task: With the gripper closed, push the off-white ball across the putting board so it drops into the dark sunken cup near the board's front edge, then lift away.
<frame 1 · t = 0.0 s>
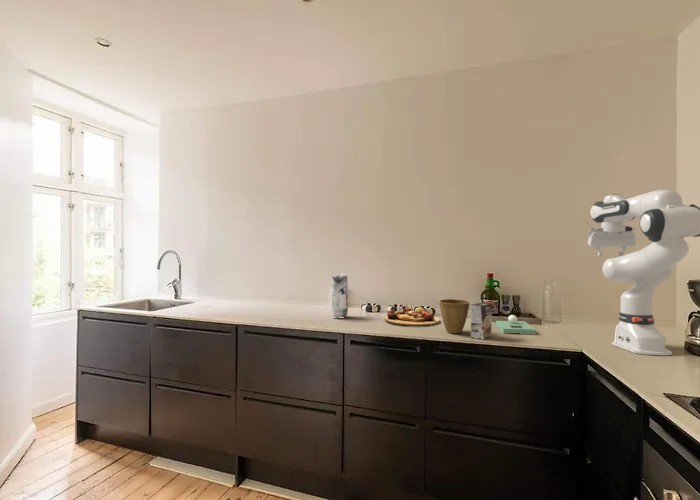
hand: (610, 255, 193), 39 cm above the worktop, tool pointing down, fingers open, 8 cm apart
juice carton: (340, 317, 240), on the worktop
plant pot: (454, 332, 198), on the worktop
putting board: (514, 329, 203), on the worktop
wooden plate with food: (411, 322, 227), on the worktop
coffee box: (481, 337, 188), on the worktop
ball: (512, 319, 207), point 5 cm above the worktop, touching putting board
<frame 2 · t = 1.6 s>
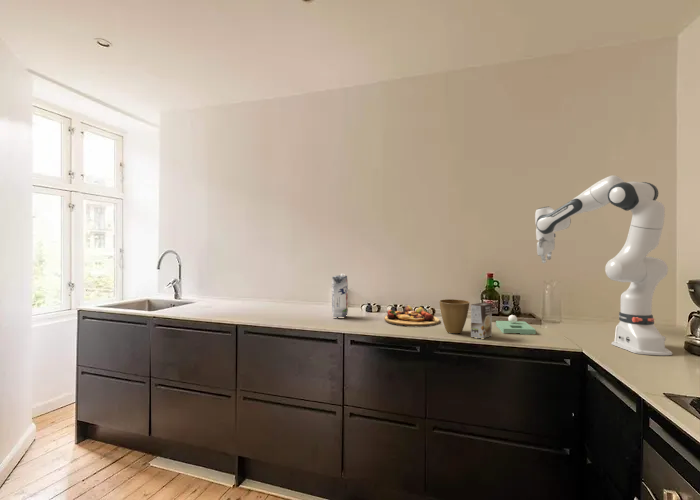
hand: (546, 260, 215), 35 cm above the worktop, tool pointing down, fingers open, 8 cm apart
nothing on the worktop moved.
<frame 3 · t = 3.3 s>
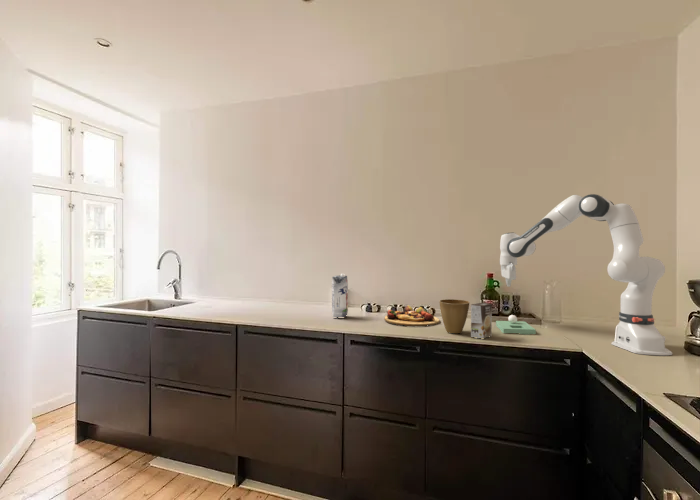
hand: (508, 286, 217), 21 cm above the worktop, tool pointing down, fingers closed
nothing on the worktop moved.
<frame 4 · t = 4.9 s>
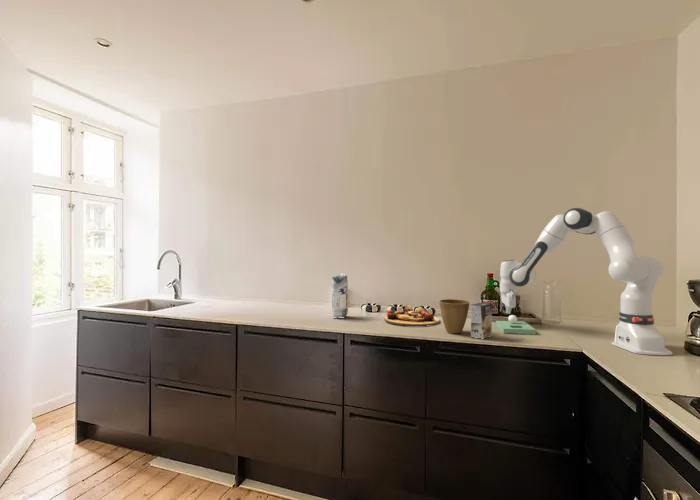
hand: (508, 313, 218), 6 cm above the worktop, tool pointing down, fingers closed
nothing on the worktop moved.
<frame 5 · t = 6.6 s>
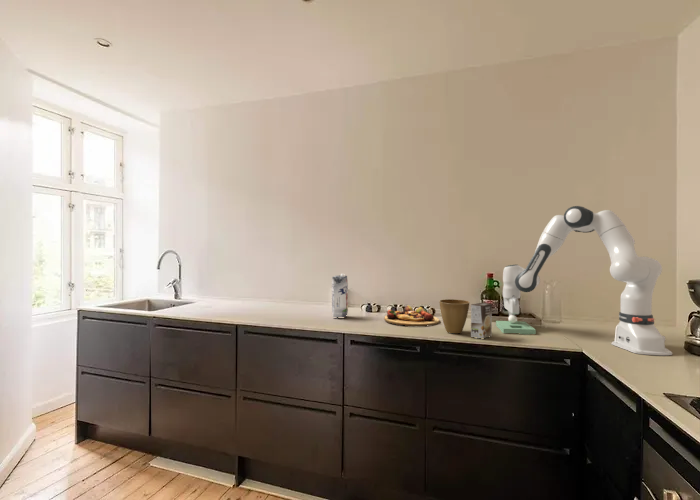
hand: (511, 319, 211), 4 cm above the worktop, tool pointing down, fingers closed
ball: (512, 319, 207), point 5 cm above the worktop, touching gripper
everything else where it was.
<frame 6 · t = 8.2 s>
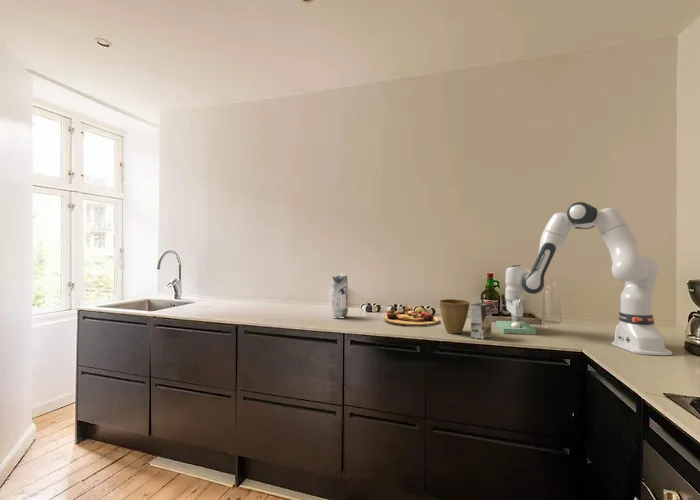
hand: (514, 322, 203), 4 cm above the worktop, tool pointing down, fingers closed
ball: (515, 326, 199), point 2 cm above the worktop, tilted 126°, touching putting board
everything else where it was.
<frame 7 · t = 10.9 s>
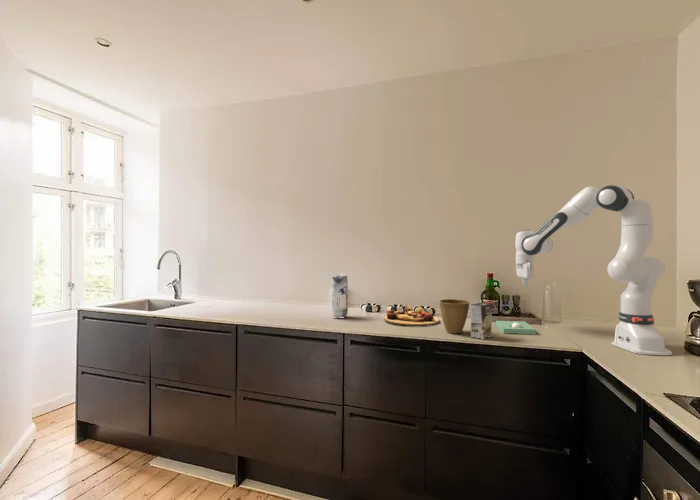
hand: (525, 286, 208), 22 cm above the worktop, tool pointing down, fingers closed
ball: (516, 326, 198), point 2 cm above the worktop, tilted 95°, touching putting board
everything else where it was.
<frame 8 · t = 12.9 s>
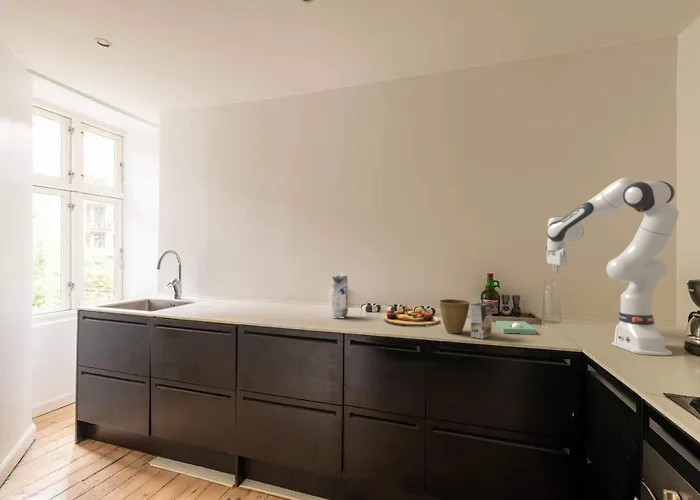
hand: (556, 273, 205), 29 cm above the worktop, tool pointing down, fingers closed
ball: (516, 327, 198), point 2 cm above the worktop, tilted 86°, touching putting board
everything else where it was.
at the end: ball 0.9 cm from the target spot on the putting board, point 2.5 cm above the putting board's base; ball moved 10.0 cm from its start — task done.
